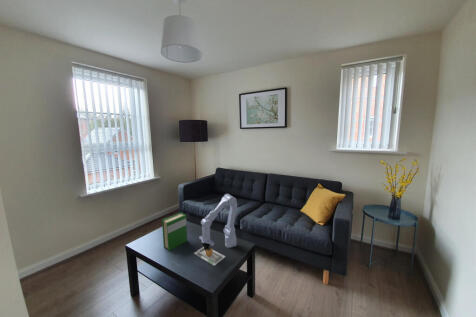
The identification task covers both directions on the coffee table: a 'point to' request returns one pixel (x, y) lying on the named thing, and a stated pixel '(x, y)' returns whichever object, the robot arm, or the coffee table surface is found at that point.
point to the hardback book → (174, 231)
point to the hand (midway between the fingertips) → (206, 250)
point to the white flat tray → (212, 258)
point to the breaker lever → (209, 251)
